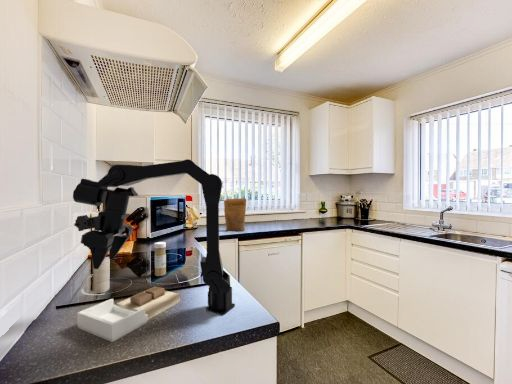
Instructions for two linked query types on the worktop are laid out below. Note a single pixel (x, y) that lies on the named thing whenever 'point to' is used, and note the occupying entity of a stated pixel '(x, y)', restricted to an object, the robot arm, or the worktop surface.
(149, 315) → the birch plate
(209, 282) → the robot arm
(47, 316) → the worktop surface
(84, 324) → the box
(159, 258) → the sprinkles bottle
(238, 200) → the pancake mix bag
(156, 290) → the walnut tile
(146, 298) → the walnut tile
